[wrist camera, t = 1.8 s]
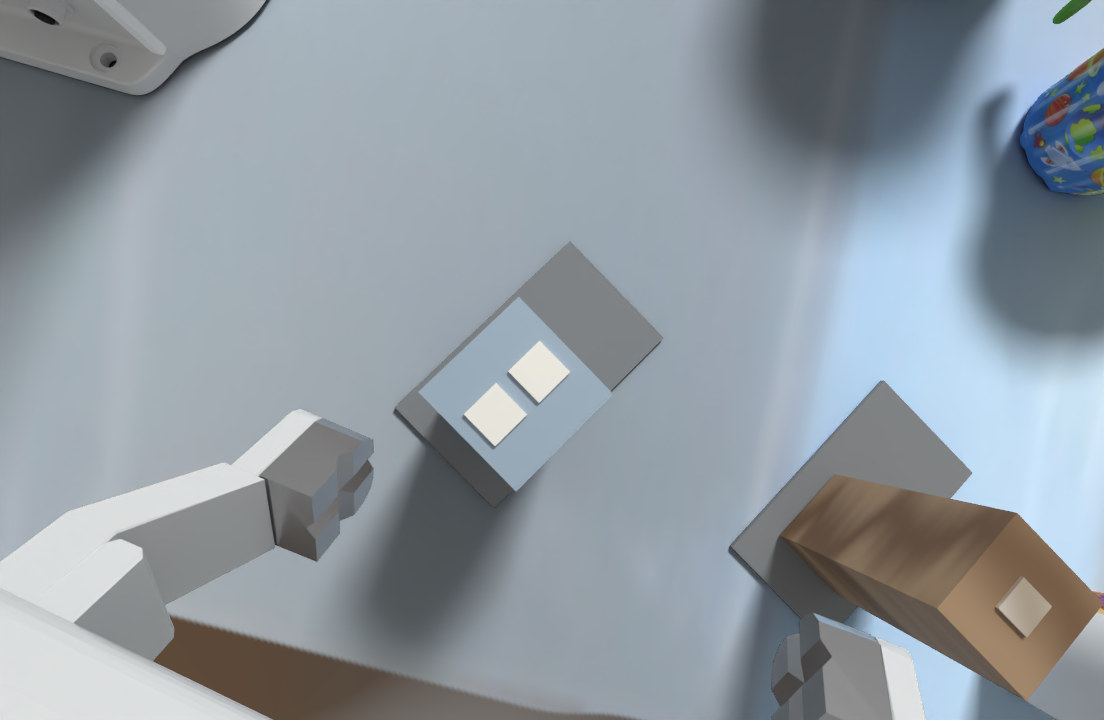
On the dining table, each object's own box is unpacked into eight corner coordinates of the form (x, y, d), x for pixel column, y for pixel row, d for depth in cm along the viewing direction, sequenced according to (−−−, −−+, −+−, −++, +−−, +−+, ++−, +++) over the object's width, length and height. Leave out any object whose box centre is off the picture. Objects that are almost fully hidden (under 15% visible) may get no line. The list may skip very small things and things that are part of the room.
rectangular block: (509, 460, 32) (519, 495, 20) (446, 395, 32) (417, 391, 20) (571, 398, 33) (616, 396, 21) (509, 334, 33) (518, 295, 21)
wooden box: (839, 596, 34) (1033, 705, 22) (779, 535, 34) (940, 610, 22) (893, 535, 34) (1110, 607, 22) (834, 474, 34) (1020, 513, 22)
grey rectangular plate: (822, 641, 34) (825, 643, 34) (729, 545, 34) (731, 547, 33) (968, 472, 36) (972, 473, 35) (880, 380, 35) (883, 380, 35)
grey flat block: (493, 507, 33) (494, 508, 32) (395, 407, 32) (394, 407, 32) (662, 338, 34) (663, 337, 34) (569, 242, 34) (570, 241, 34)
